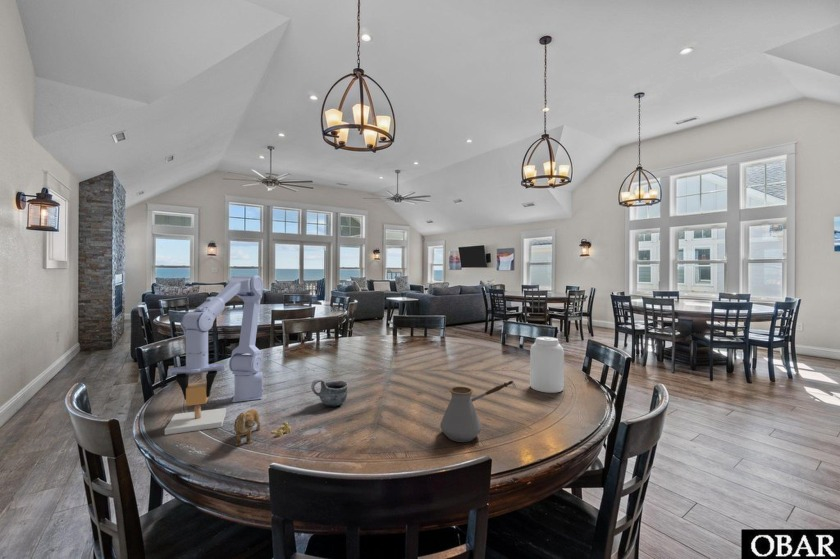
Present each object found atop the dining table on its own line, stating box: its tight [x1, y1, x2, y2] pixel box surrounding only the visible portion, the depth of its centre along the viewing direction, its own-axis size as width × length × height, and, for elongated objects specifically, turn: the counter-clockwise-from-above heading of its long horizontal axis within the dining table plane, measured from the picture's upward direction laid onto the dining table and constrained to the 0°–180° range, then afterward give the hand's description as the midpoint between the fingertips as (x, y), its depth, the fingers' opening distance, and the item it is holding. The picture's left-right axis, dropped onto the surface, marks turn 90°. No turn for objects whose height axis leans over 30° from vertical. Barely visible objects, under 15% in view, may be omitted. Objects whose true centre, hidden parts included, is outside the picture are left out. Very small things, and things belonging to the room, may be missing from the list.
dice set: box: [271, 422, 292, 438], centre depth 104 cm, size 5×5×2 cm
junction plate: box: [164, 404, 227, 436], centre depth 110 cm, size 14×12×5 cm
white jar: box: [529, 336, 565, 394], centre depth 145 cm, size 12×12×20 cm
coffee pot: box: [439, 380, 517, 443], centre depth 103 cm, size 21×12×15 cm, turn 97°
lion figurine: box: [233, 408, 261, 446], centre depth 100 cm, size 15×5×9 cm, turn 16°
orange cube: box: [185, 381, 209, 407], centre depth 110 cm, size 5×5×5 cm
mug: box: [310, 377, 349, 407], centre depth 125 cm, size 10×12×10 cm
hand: (197, 397), depth 110 cm, fingers closed on orange cube, 5 cm apart
